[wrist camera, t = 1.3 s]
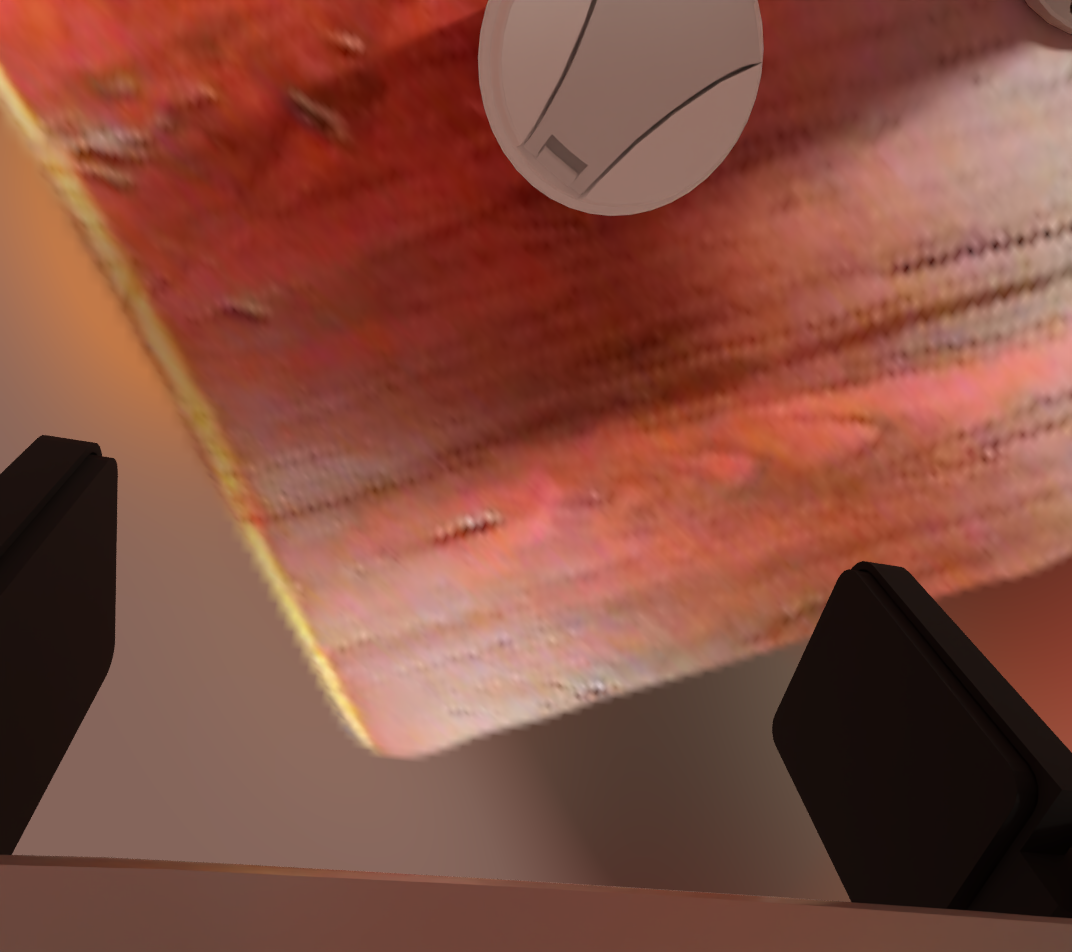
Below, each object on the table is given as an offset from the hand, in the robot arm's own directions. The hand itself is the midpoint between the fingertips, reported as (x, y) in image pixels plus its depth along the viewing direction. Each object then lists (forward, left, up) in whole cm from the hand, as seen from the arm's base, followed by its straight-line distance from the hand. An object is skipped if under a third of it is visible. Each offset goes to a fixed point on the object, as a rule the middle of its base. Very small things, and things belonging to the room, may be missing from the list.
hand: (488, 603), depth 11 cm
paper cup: (-6, -5, -28) cm, 29 cm away
